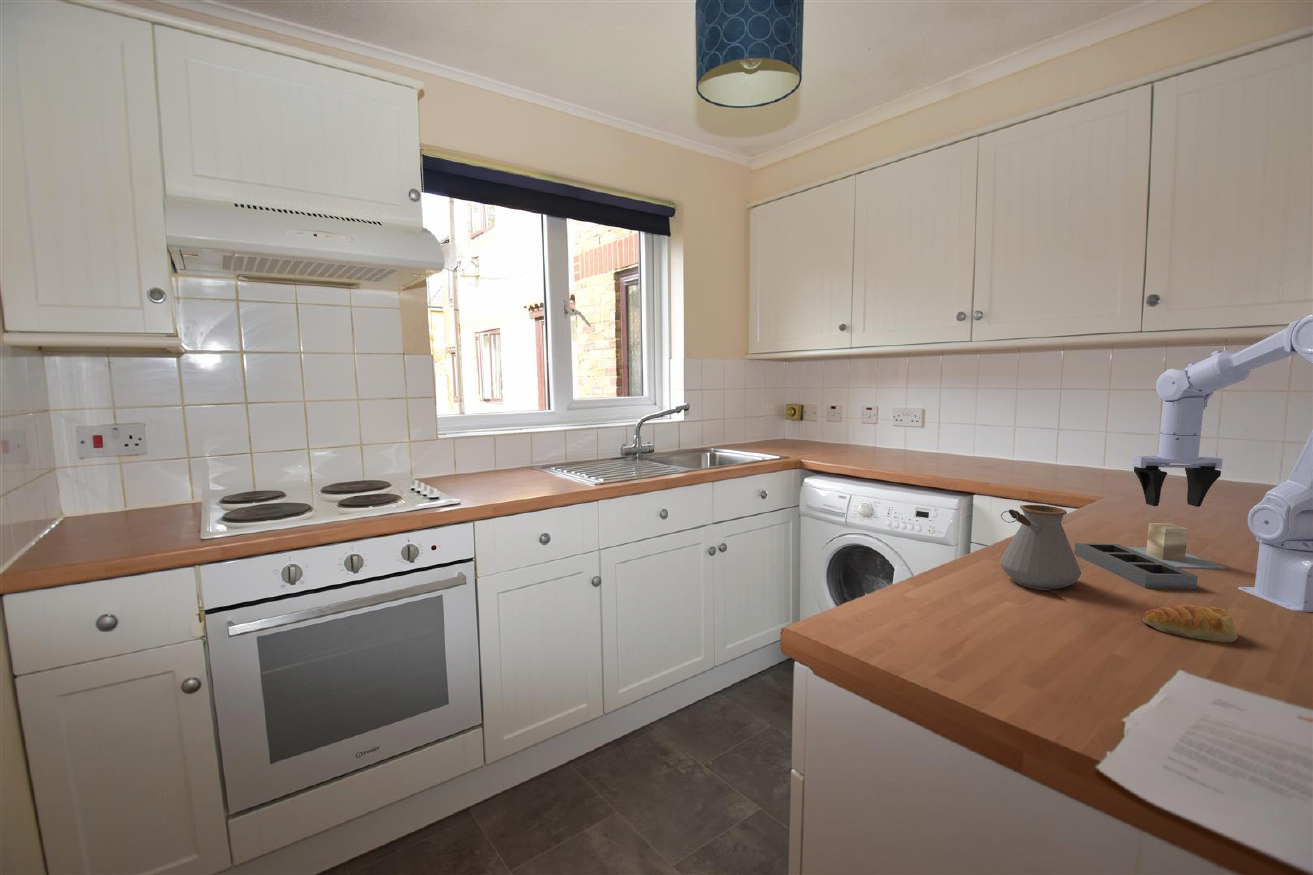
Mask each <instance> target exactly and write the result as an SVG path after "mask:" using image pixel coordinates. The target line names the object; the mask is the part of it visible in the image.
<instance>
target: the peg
mask: <svg viewBox="0 0 1313 875" xmlns="http://www.w3.org/2000/svg"><path fill="white" fill-rule="evenodd" d="M1188 531H1189V528H1187V527H1183V526H1180V525H1177V524H1174V523H1169V522H1168V523H1166V522H1165V523H1164V522H1163V523H1162V522H1161V523H1159V522H1149V523H1148V530H1147V541H1146V548H1147V549H1146V553H1147V554H1149V555H1152V556H1154V557H1157V558H1160V559H1162V560H1185V554H1186V553H1187V552H1186V551H1187V545H1188V543H1187V542H1188V534H1189V532H1188Z"/></svg>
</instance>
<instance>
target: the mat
mask: <svg viewBox="0 0 1313 875" xmlns="http://www.w3.org/2000/svg"><path fill="white" fill-rule="evenodd" d="M1126 547H1127V548H1129V549H1132V550H1134V551H1137V552H1139V553H1142V554H1144V555H1147V556H1149V557H1152V558H1154V559H1157V560H1159V561H1162V562H1164V563H1167V564H1169V565H1172V566H1174V567H1177V568H1179V569H1202V570H1203V569H1205V570H1206V569H1207V570H1209V569H1211V570H1215V569H1217V570H1228V569H1227V568H1228V567H1226V566H1223V565H1221V564H1218V563H1215V562H1213V561H1210V560H1207V559H1204V558H1202V557H1199V556H1196V555H1193V554H1191V553H1188V552H1186V554H1185V560H1162V559H1160V558H1157V557H1154V556H1152V555H1149V554H1147V553H1146V549H1147V546H1145V547H1137V546H1136V547H1135V546H1134V547H1133V546H1131V547H1130V546H1126Z"/></svg>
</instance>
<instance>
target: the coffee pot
mask: <svg viewBox="0 0 1313 875" xmlns="http://www.w3.org/2000/svg"><path fill="white" fill-rule="evenodd" d="M1019 508H1020V510H1021V511H1022V512H1023V514H1021V513H1020V511H1018V510H1014V509H1009V510H1004V511H1003V512H1002V513H1001V514H1000V517H1001V520H1002V521H1004V522H1006V523H1014V522H1018V523H1020V524H1021V525H1020V526H1019V528H1018V530H1017V531H1016V533H1015V535H1014V536H1013V538H1012V539H1011V541H1010V543H1009V545H1008V546H1007V548H1006V550H1005V551H1004V553H1003V554H1002V556H1001V558H1000V560H999V561H1000V565H1001V568H1002V570H1003V571H1004V572H1005V574H1006V575H1008V576H1009V577H1010V578H1011V580H1012V581H1013V582H1014V583H1016V584H1018V585H1020V586H1023V587H1026V588H1030V589H1034V590H1039V591H1046V592H1047V591H1048V592H1049V591H1050V592H1052V590H1059V589H1064V588H1066V587H1069V586H1071V585H1074V584H1076V583H1077V582H1078V580H1079V579H1080V576H1081V575H1082V571H1081V568H1080V566H1079V563H1078V561H1077V558H1076V555H1074V552H1073V549H1072V546H1071V543H1070V542H1069V540H1068V537H1067V535H1066V532H1065V530H1064V526H1063V524H1062V522H1063V518H1064V516H1065V515H1067V514H1068V511H1067V510H1066V509H1063V508H1059V507H1056V506H1050V505H1043V504H1041V505H1040V504H1022V505H1020V506H1019ZM1004 513H1009V515H1010V517H1011V518H1012V519H1014V520H1012V521H1008V520H1005V518H1003V515H1004Z"/></svg>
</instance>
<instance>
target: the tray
mask: <svg viewBox="0 0 1313 875" xmlns="http://www.w3.org/2000/svg"><path fill="white" fill-rule="evenodd" d="M1127 547H1128V546H1124V545H1121V544H1119V543H1084V542H1083V543H1082V542H1081V543H1080V542H1079V543H1077V542H1075V543H1074V552H1073V554H1074V556H1075V557H1078V558H1080V559H1082V560H1085V561H1087V562H1089V563H1091V564H1094V565H1096V566H1098V567H1099V568H1102V569H1103V570H1106V571H1108V572H1110V573H1112V574H1114V575H1116V576H1118V577H1120V578H1122V579H1124V580H1127V581H1129V582H1131V583H1133V584H1135V585H1138V586H1140V587H1141V588H1144V589H1163V590H1164V589H1165V590H1166V589H1167V590H1170V589H1171V590H1197V588H1198V586H1197V585H1198V575H1196V574H1193V573H1192V572H1189V571H1186V570H1184V569H1182V568H1177V567H1174V566H1172V565H1169V564H1167V563H1164V562H1162V561H1159V560H1157V559H1154V558H1152V557H1149V556H1147V555H1144V554H1142V553H1139V552H1137V551H1134V550H1132V549H1129V548H1127Z"/></svg>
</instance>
